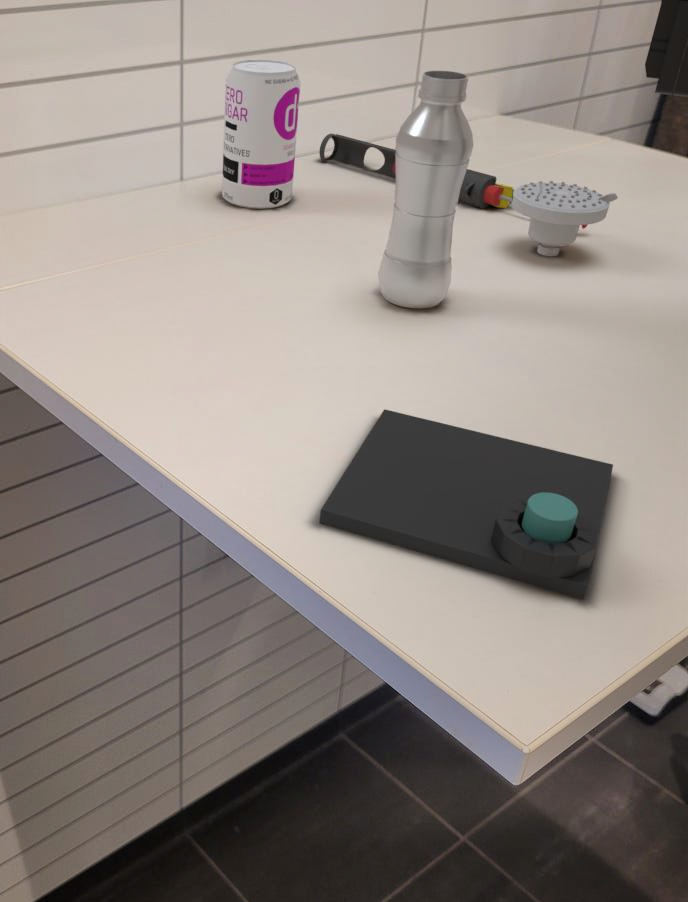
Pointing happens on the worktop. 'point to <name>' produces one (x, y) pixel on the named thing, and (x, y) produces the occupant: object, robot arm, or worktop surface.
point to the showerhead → (558, 212)
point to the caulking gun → (352, 151)
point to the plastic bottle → (427, 193)
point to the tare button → (549, 517)
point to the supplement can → (260, 133)
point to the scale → (470, 500)
